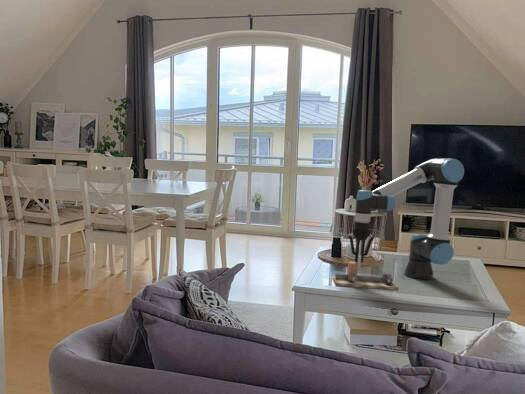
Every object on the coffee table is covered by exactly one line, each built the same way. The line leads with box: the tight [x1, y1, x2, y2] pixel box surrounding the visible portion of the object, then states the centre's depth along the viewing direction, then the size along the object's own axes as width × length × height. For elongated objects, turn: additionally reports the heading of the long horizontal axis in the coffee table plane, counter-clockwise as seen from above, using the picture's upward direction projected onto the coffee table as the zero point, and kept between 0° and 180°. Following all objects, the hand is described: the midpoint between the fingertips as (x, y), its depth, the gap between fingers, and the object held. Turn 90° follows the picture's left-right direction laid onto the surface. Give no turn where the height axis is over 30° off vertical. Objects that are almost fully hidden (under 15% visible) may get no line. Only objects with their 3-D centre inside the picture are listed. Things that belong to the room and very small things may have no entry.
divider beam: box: [334, 272, 394, 284], centre depth 238 cm, size 28×7×6 cm, turn 89°
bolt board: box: [331, 276, 399, 291], centre depth 238 cm, size 30×12×1 cm, turn 89°
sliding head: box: [346, 260, 359, 281], centre depth 238 cm, size 4×8×8 cm, turn 179°
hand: (358, 268), depth 240 cm, fingers closed
